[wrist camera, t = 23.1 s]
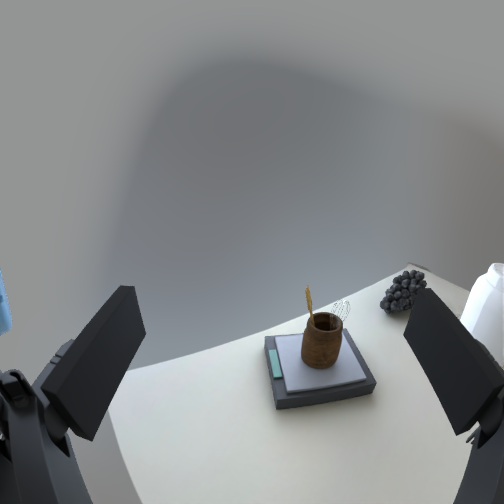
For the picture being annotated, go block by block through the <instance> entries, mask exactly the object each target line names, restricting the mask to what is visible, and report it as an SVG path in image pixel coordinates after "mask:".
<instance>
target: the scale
mask: <svg viewBox="0 0 504 504" xmlns="http://www.w3.org/2000/svg"><path fill="white" fill-rule="evenodd" d="M303 334H304V333H302V334H291V335H278V336H265V352H266V357H267V363H268V368H269V374H270V379H271V385H272V390H273V396H274V401H275V407H276V410H278V409H287V408H295V407H302V406H309V405H316V404H322V403H328V402H333V401H338V400H343V399H348V398H353V397H357V396H362V395H366V394H370V393H372V392H373V390H374V388H375V385H376V381H375V379H374V377H373V375H372V373H371V372H370V370H369V368H368V366H367V364H366V363H365V361H364V359H363V357H362V355H361V354H360V352H359V350H358V348H357V347H356V345H355V343H354V341H353V340H352V338H351V336H350V334H349V333H348V331H347V329H343V330H342V344H341V348H340V352H339V355H338V358H337V360H336V362H335V363H334V364H333V365H332V366H331V367H328V368H325V369H315V368H312V367H310V366H308V365H306V364H305V363H304V362H303V360H302V358H301V346H302V339H303Z"/></svg>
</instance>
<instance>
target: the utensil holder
mask: <svg viewBox="0 0 504 504" xmlns="http://www.w3.org/2000/svg"><path fill="white" fill-rule="evenodd" d="M306 298H307V305H308V310H310V318H309V319H308V322H307V327H306V329H305V331H304V334H303V339H302V346H301V358H302V360H303V362H304V363H305V364H306V365H308V366H310V367H312V368H315V369H325V368H328V367H331V366H332V365H333V364H334V363H335V362H336V360H337V358H338V355H339V352H340V348H341V344H342V330H343V323H342V320H341V319H340V318H339V317H340V316H339V317H338V316H336V315H334V314H332V313H327V312H319V313H315V314H313V313H312V301H311V297H310V291H309V287H308V286H307V288H306ZM338 301H340V299H339V300H338ZM338 301H337V302H338ZM343 301H345V302H346V303H347V300H345V299H343ZM343 301H342V303H343ZM345 302H344V303H345ZM336 304H337V303H336ZM334 305H335V304H334ZM349 305H350V304H349ZM335 306H336V305H335ZM333 307H334V306H333ZM337 307H338V306H337ZM343 307H344V306H343ZM347 307H348V305H347ZM340 308H341V307H340ZM332 309H333V308H332ZM346 309H347V308H346ZM339 310H340V309H339ZM342 310H343V309H342ZM349 310H350V309H349ZM333 311H334V310H333ZM335 311H336V310H335ZM331 312H332V311H331ZM341 312H342V311H341ZM347 312H348V310H347ZM334 313H335V312H334ZM338 313H339V312H338ZM348 313H349V312H348ZM346 314H347V313H346ZM337 315H338V314H337ZM340 315H341V314H340ZM347 315H348V314H347ZM342 317H343V316H342ZM345 317H346V316H345ZM344 319H346V318H344ZM343 321H344V320H343Z"/></svg>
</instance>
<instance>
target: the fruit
mask: <svg viewBox="0 0 504 504" xmlns="http://www.w3.org/2000/svg"><path fill="white" fill-rule="evenodd" d="M423 279H424V273H422V272H419V271H416V270H412V271H411V272H410V273H409V272H408V271H404V272H403V275H402V276H401V275H399V276H398V277H395V278H394V279H393V283H394V284H393V285H392V286H391V287H390V289H387V290H386V297H384V298H383V300H382V301H381V302H380V307H381V308H382V309H385V312H386V313H389V314H390V313H392V311H393V310H398V311H399V312H402V311H403V309H404V308H406V309H408V308H410V307H413V305H414V302H415V298H416V295H417V292H418V289H424V288H425V287H426V285H427V283H426V281H424V280H423Z"/></svg>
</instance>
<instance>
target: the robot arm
mask: <svg viewBox="0 0 504 504" xmlns="http://www.w3.org/2000/svg"><path fill="white" fill-rule="evenodd" d="M11 326H12V318H11V313H10V308H9V304H8V299H7V295H6V291H5V286H4V282H3V278H2V274H1V270H0V335H2V334H4V333H6V332H8V331H9V330H10V328H11ZM145 335H146V332H145V328H144V325H143V321H142V317H141V313H140V309H139V305H138V301H137V296H136V292H135V287H134V286H120V287H119V288H118V289H117V290H116V291H115V292H114V293H113V295H112V296H111V297H110V298H109V299H108V300H107V301H106V303H105V304H104V305H103V306H102V307H101V309H100V310H99V311H98V312H97V313H96V315H95V316H94V317H93V318H92V319H91V321H90V322H89V323H88V324H87V325H86V327H85V328H84V329H83V330H82V332H81V333H80V334H79V335H78V337H77V338H76V339H75V340H72V339H71V340H69V341H68V342H66V343H65V344H64V345H62V346H61V347H60V349H59V350H58V351H57V352H56V354H55V356H53V358H52V359H51V360H50V363H48V364H47V365H46V367H45V368H44V370H43V371H42V372H41V374H40V375H39V376H38V378H37V379H36V380H35V382H34V383H33V385H32V386H30V384H29V383H28V381H27V380H26V378H25V377H24V375H23V374H22V373H21V372H20V371H19V370H16V369H14V370H8V371H6V372H4V373H3V374H2V375H1V376H0V433H1V434H2V439H0V504H93V503H92V501H91V498H90V496H89V494H88V491H87V489H86V486H85V483H84V481H83V479H82V476H81V473H80V470H79V467H78V464H77V462H76V458H75V455H74V452H73V448H72V445H71V441H70V438H69V436H68V434H67V433H66V432H67V430H68V428H69V427H70V429H71V430H72V431H73V432H74V433H75V435H77V436H79V437H82V438H84V439H87V440H89V441H93V439H94V436H95V434H96V432H97V430H98V428H99V426H100V424H101V421H102V419H103V417H104V415H105V413H106V411H107V409H108V407H109V405H110V403H111V401H112V399H113V397H114V394H115V392H116V390H117V388H118V386H119V384H120V383H121V381H122V379H123V377H124V375H125V373H126V371H127V369H128V367H129V365H130V363H131V361H132V359H133V357H134V355H135V353H136V352H137V350H138V348H139V346H140V344H141V342H142V341H143V339H144V337H145ZM403 335H404V337H405V339H406V340H407V342H408V344H409V345H410V347H411V349H412V350H413V352H414V354H415V356H416V357H417V359H418V361H419V363H420V365H421V366H422V368H423V370H424V372H425V374H426V375H427V377H428V379H429V381H430V383H431V385H432V387H433V389H434V391H435V393H436V395H437V396H438V398H439V400H440V402H441V404H442V407H443V409H444V411H445V413H446V415H447V417H448V419H449V421H450V423H451V425H452V428H453V430H454V432H455V434H456V436H457V435H459V434H462V433H464V432H466V431H468V430H470V429H471V428H472V427H473V425H474V424H475V423H476V422H477V421H478V422H479V424H480V426H479V427H478V428H477V429H476V430H475V431H474V432H473V433H472V434H471V435H470V437H469V438H468V439H467V441H466V443H468V442H469V441H470V440H471V439H472V438H473V437H474V440H473V441H472V442H471V444H473V445H472V449H471V453H470V457H469V460H468V464H467V467H466V470H465V473H464V476H463V479H462V482H461V485H460V488H459V490H458V493H457V496H456V498H455V501H454V503H453V504H504V371H503V369H502V368H501V366H500V365H499V364H498V362H497V361H495V358H494V357H493V356H492V354H491V355H490V352H489V351H488V349H487V348H486V347H485V345H483V344H482V343H481V342H479V341H478V340H477V339H474V337H473V336H472V335H471V334H470V332H469V331H468V330H467V329H466V328H465V326H464V325H463V324H462V323H461V322H460V321H459V319H458V318H457V317H456V316H455V315H454V314H453V312H452V311H451V310H450V309H449V308H448V307H447V306H446V305H445V303H444V302H443V301H442V300H441V299H440V298H439V297H438V296H437V295H436V294H435V293H434V291H433V290H432V289H431V288H424V289H418V292H417V295H416V298H415V302H414V305H413V308H412V311H411V314H410V317H409V320H408V323H407V326H406V329H405V332H404V334H403Z"/></svg>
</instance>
